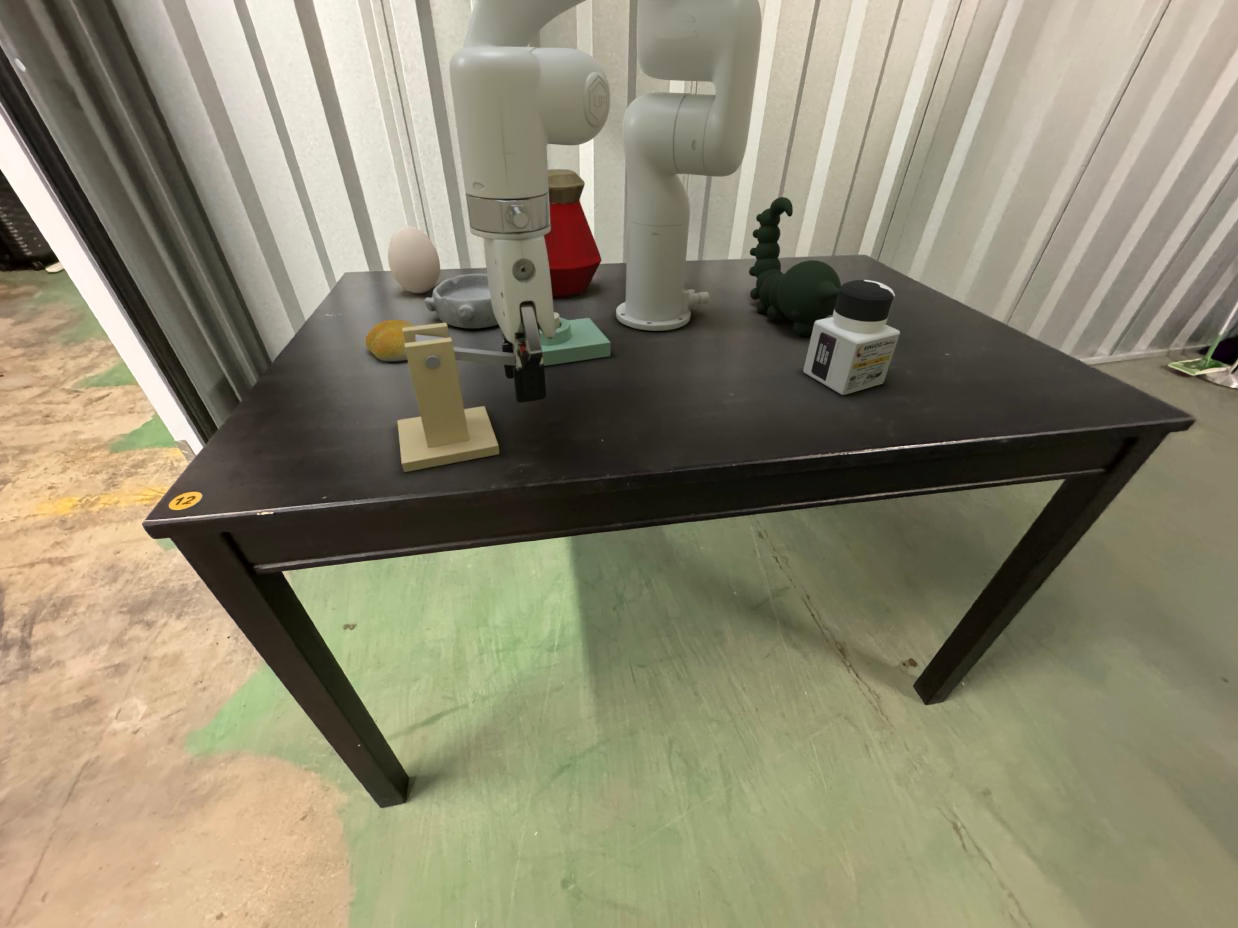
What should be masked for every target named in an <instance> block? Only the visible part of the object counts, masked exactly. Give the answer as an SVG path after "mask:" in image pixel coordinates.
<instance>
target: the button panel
mask: <svg viewBox="0 0 1238 928" xmlns="http://www.w3.org/2000/svg"><path fill="white" fill-rule="evenodd" d="M559 318H560V327H559V328H557V329H555V331H556V334H555V336H554V338H553V339H549V338H545V336H544V335H543V333H542V332H541V330H539V331H540V339H541V346H542V354H543V362H544V367H546V366H553V365H558V364H566V363H573V362H580V361H587V360H594V359H600V358H606V357H607V358H608V357H611V349H612V348H611V341H610V340H609V338H607V336H606V335H605V334H604V333H603V332H602V330H600V329H599V327H598V326H597V325H596V324H595V323H594V322H593V320H592V319H591V318H590V317H584V318H576V319H566V318H563V317H560V316H559Z"/></svg>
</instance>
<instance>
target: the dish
mask: <svg viewBox="0 0 1238 928" xmlns="http://www.w3.org/2000/svg"><path fill="white" fill-rule="evenodd" d="M424 304H425V308H426V309H427V310H429V312H436V315H437V317H438V318H439V320H440V321H441V322H442V323H447V325H449V326H453V327H455V328H456V327H457V328H463V329H483V328H489V327H495V326H499V324H498V322H497V320H496V318H495V315H494V312H493V308H492V303H491V297H490V291H489V284H488V277H487V273H468V274H459V275H457V276H455V277H450V278H447V279H445V280H443V281H441V282H440V283H439V284H438V285H437V286H435V288H434V289H433V290H432V295H431V297H425V298H424Z"/></svg>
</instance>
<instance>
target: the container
mask: <svg viewBox="0 0 1238 928" xmlns="http://www.w3.org/2000/svg"><path fill="white" fill-rule="evenodd" d="M895 297H896V293H895V292H894V290H893V289H892V288H891V287H889V286H888V285H887V284H885V283H882V282H879V281H875V280H869V279H855V280H851V281H846V282H844V283H843V284H841V286H840V289H839V292H838V296H837V300H836V304H835V308H834V312H833V315H832V316H830V317H826V318H824V319H821V320H817V321H815V323H814V327H813V331H812V335H810V340H809V345H808V349H807V352H806V356H805V362H804V366H803V370H802V371H803V373H804V374H805V375H806V376H809V377H810V378H812V379H813V380H816V381H818V382H819V383H820V384H822V385H824V386H826V387H827V388H829V389H831V390H832V391H834V392H836V393H838V394H839V395H841V396H846V395H849V394H853V393H856V392H860V391H862V390H866V389H869V388H874V387H877V386H880V385H883V384H884V383H885V379H886V377H887V374H888V371H889V367H890V364H891V362H892V359H893V355H894V353H895V350H896V347H897V344H898V341H899V337H900V335H901V331H900V330H899V329H898V328H897V329H896V328H894V327H892V326H890V325H887V321H888V318H889V316H890V312H891V309H892V306H893V303H894V299H895Z"/></svg>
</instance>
